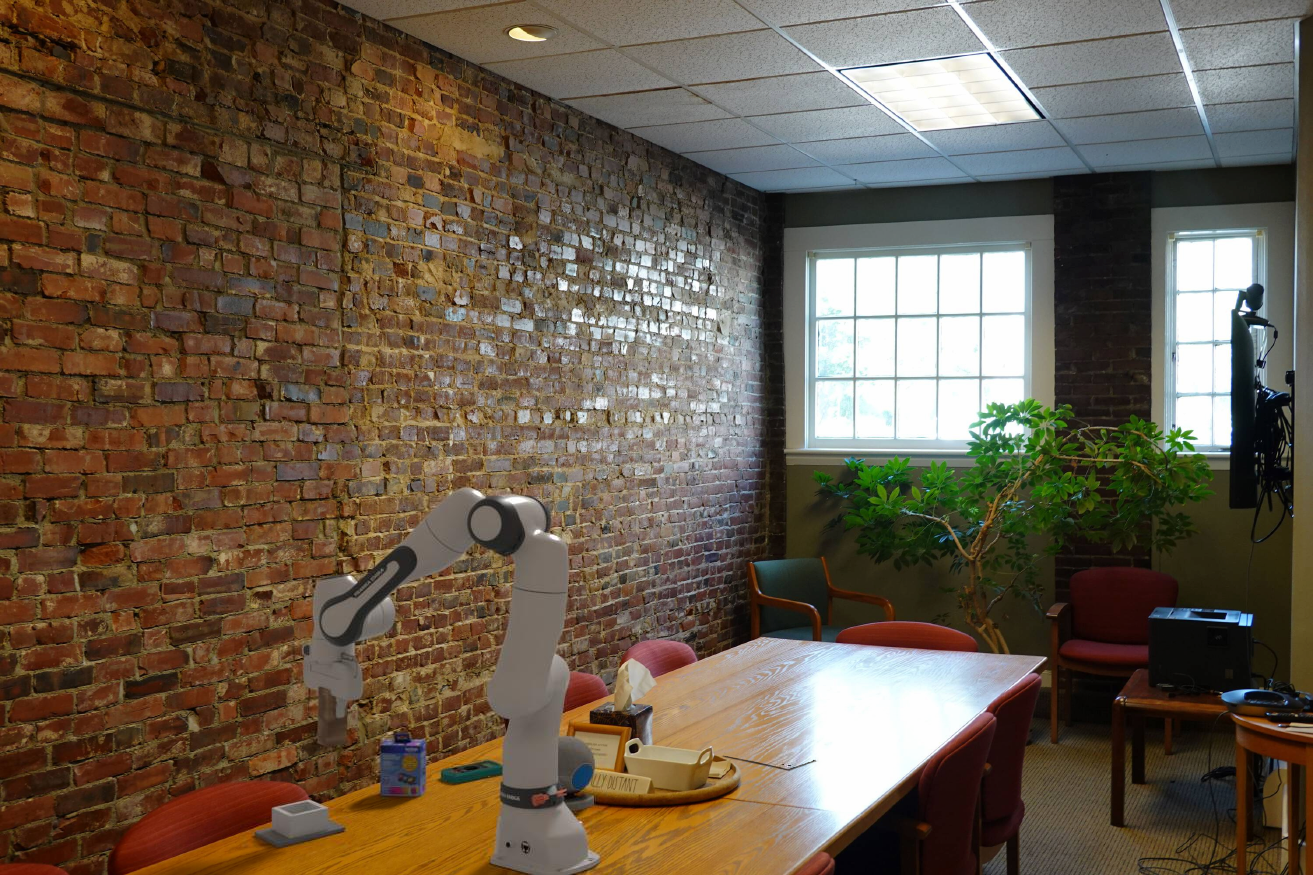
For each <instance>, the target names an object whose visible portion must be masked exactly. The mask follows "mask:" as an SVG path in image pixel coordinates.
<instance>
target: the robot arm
mask: <svg viewBox="0 0 1313 875" xmlns="http://www.w3.org/2000/svg"><path fill="white" fill-rule="evenodd" d="M551 526H552V514H551V511H550V510H549V507H548V506H547V505H546V503H544V502H543V500H540V499H539V498H537V497H534V496H531V495H520V494H518V495H517V494H514V493H505V494H501V495H488V496H487V497H486V496H485V495H484V494H483V493H481V491H479V490H478V489H475V488H473V487H472V488H471V487H461V488H459V489H456V490H455V491H454V492H452V493H451V494H450V495H448V496H447V497H446V498H444V499H443V500H442V501H441V502H439V503H438V504H437V505H436V506H435V507H433V509H431V511H430V512H429V513H427V515H426V516H425V517H424V518H423V519H422V520H421V521H420V522H419V523H418V524H417V525H416V526H415V528H413V530H412V531H410V533H409V534H408V535H407V536H405V538H403V540H402V541H401V542H400V543H398V545H397V546H395V548H393V550H392V551H390V553H388V554H387V555H386V556H385V557H383V559H381V560H380V561H379V562H378V563H377V564H376V565H375V566H373V568H372V569H370V570H369V571H368V572H367V573H366V574H365V575H364V576H363V577H362V578H361V579H360V580H358V581H357V580H356V578H355V577H354V576H353V575H351V574H338V575H333V576H332V575H331V576H326V577H322V578H320V579H319V580H317V582H316V585H315V587H314V591H313V600H312V620H313V623H314V625H313V626H314V628H313V631H312V632H313V633H312V638H311V639H312V640H311V641H310V642H307V643H305V644H303V645H302V647H301V653H302V655H303V656H304V657H303V660H302V661H303V663H302V664H303V665H302V669H303V670H302V672H303V673H302V674H303V677H302V678H303V683H304V685H305V687H306V688H308V689H311V690H315V691H317V692H318V687H322V688H325V689H328V690H330V695H332V696H335V697H336V702H337V705H336V709H334V716H335V717H337V718H342V717H344V715H345V707H346V705H347V703H348V702H349V701H350V702H351V701H357V700H361V699H362V696H363V693H364V687H363V686H364V684H363V672H362V666H361V665H360V664H359V661H357V659H356V655H355V653H356V652H355V649H356V647H355V646H356V644H355V643H356V642H361V641H363V640H368V639H371V638H375V637H378V636H381V635H384V634H385V633H388V632H389V631H391V629H392V628H393V626H394V625H395V622H396V618H397V610H396V605H395V603H394V601H393V600H392V598H391V597H390V596H391V595H392V594H393V592H395V591H396V590H398V589H399V588H401V587H402V586H403V585H406V584H408V583H411V582H412V581H414V580H418V579H421V578H424V577H427V576H430V575H433V574H436V573H437V574H438V573H440V572H443V571H444V570H445V569H447V568H449V567H451V565H453V564H455V563H456V562H457V561H459V559H460V558H462V557H463V556H464V555H465V553H466V552H467V551H468V550H469V549H470V548H471V547H472V546H473V545H474V544H475V543H476V544H478V546H481V547H483V548H485V549H487V550H489V551H492V552H494V553H496V554H497V555H500V556H501V557H503V558H506V557H511V558H512V561H513V563H514V565H513V566H514V574H513V581H512V582H513V583H512V591H511V600H510V601H511V602H510V606H509V607H510V609H509V617H508V622H507V623H508V624H507V629H506V633H505V635H504V639H503V642H502V646H501V649H500V653H499V657H498V659H497V664H496V667H495V670H494V673H493V675H492V676H491V679H490V680H489V682H488V685H487V688H486V698H487V702H488V705H489V706H490V708H491V709H492V711H493V712H494V713H495V714H496V715H498V716H499V717H501V718H504V719H506V720H507V719H508V721H509V722H508V726H507V729H506V733H505V735H504V738H503V740H502V748H501V749H502V765H503V774H502V781H500V787H499V801H500V802H501V808H500V811H499V815H498V817H497V820H496V831H495V840H494V841H495V842H494V852H493V854H491V857H490V864H491V865H494V866H499V867H502V868H507V869H510V870H514V871H517V872H521V873H525V874H529V875H573V874H577V873H581V872H582V871H583V872H584V871H585V870H589V869H591V868H593V867H596V865H598V864H600V862H601V856H600V855H599V854H598V853H596V852H594V851H592V850H590V849H589V845H588V844H589V843H588V836H587V835H588V834H587V832H586V828H584V826H585V825H584V823H583V822H582V821H581V820H579V819H578V818H577V817H576V816H575V815H574V813H573V812H572V811H570V809H569V808H568V807H567V806H566V804H565V803H564V795H567V794H563V792H565V791H567V789H564V790H562V786H561V784H560V780H559V779H558V739H559V737H560V730H561V724H562V718H563V714H564V713H563V711H564V704H565V698H566V692H567V690H568V688H569V684H570V679H571V671H570V668H569V666H568V665H569V664H568V663H567V662H566V660H565V659H564V658H563V657H562V656H560V655H559V654H557V653H556V650H557V647H558V645H559V641H560V640H561V637H562V634H563V632H564V629H565V621H566V620H565V619H566V611H567V603H568V602H567V601H568V592H569V582H570V578H569V577H570V575H569V574H570V562H569V560H570V559H569V551H568V550H569V549H568V545H567V543H566V542H565V541H564V540H563V539H562V538H561V537H560V536H559V535H558V536H557V535H556V534H553V533H549V532H550V530H551Z"/></svg>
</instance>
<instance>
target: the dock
mask: <svg viewBox="0 0 1313 875" xmlns="http://www.w3.org/2000/svg"><path fill="white" fill-rule="evenodd" d="M346 829H347V828H346V827H345V826H344V825H341V824H339V823H337V822H335V821H332V820H330V817H329V807H327V806H325V805H323V804H320V803H318V802H316V801H313V800H311V799H306V800H302V801H297V802H293V803H292V802H291V803H287V804H284V805H278V806H275V807H272V808H271V827H269V828H268V827H267V828H263V829H259V830H255V831H253V832H254V836H255V837H257V838H259V839H261V840H262V841H264V842H267V843H268V844H270V845H272V846H274V847H276V848H277V849H279V848H283V847H287V846H291V845H297V844H299V843H303V842H308V841H311V840H316V839H319V838H323V837H328V836H332V835H335V834H334V833H336V834H339V833H338V832H340V833H342V832H341V831H344V830H345V831H346ZM345 831H344V832H345ZM331 834H332V835H331Z"/></svg>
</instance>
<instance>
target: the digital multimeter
mask: <svg viewBox="0 0 1313 875" xmlns="http://www.w3.org/2000/svg"><path fill="white" fill-rule="evenodd" d="M500 774H502V775H503V764H501V763H499V762H497V761H493V760H491V759H485V760H481V761H478V762H474V763H468V764H464V765H458V766H453V767H449V768H448V767H447V768H443V769H442V770H440V778H441V780H442V781H444V782H446V783H449V784H452V783H455V784H454V785H457V784H456V783H459V784H463V782H464V783H468V782H472V781H471V780H473V781H477V780H482V779H485V777H487V778H489V777H488V776H492V777H496V776H495V775H497V776H501V775H500ZM481 778H482V779H481ZM476 779H477V780H476ZM467 781H468V782H467Z"/></svg>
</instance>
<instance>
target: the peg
mask: <svg viewBox="0 0 1313 875" xmlns="http://www.w3.org/2000/svg"><path fill="white" fill-rule="evenodd" d="M317 702H318V703H317V744H319V745H321V746H324V747H325V748H331V747H336V746H341V745H346V744H348V707H349V706H348V703H347V705H346V707H345V715H344V717H342V718H337V717H335V716H334V709H336V705H337V702H336V697H335V696H332V695H330V690H328V689H325V688H322V687H318V691H317Z"/></svg>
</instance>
